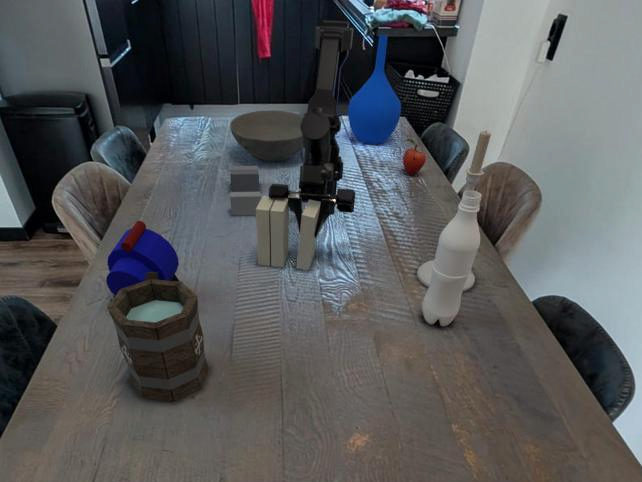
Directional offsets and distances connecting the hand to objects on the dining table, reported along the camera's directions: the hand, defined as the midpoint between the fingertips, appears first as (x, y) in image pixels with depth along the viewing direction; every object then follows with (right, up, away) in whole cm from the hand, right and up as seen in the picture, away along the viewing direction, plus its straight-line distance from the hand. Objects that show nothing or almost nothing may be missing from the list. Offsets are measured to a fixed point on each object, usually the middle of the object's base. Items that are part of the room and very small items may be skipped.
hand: (308, 236), depth 104 cm
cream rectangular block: (0, -4, +6) cm, 7 cm away
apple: (+33, +37, +46) cm, 68 cm away
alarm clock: (-34, -15, -5) cm, 37 cm away
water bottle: (+26, -20, -8) cm, 34 cm away
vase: (+24, +60, +67) cm, 93 cm away
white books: (-8, -3, +7) cm, 11 cm away
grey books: (-17, +22, +30) cm, 41 cm away
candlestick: (+31, -8, +4) cm, 33 cm away
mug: (-25, -30, -19) cm, 44 cm away
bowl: (-11, +46, +53) cm, 72 cm away
